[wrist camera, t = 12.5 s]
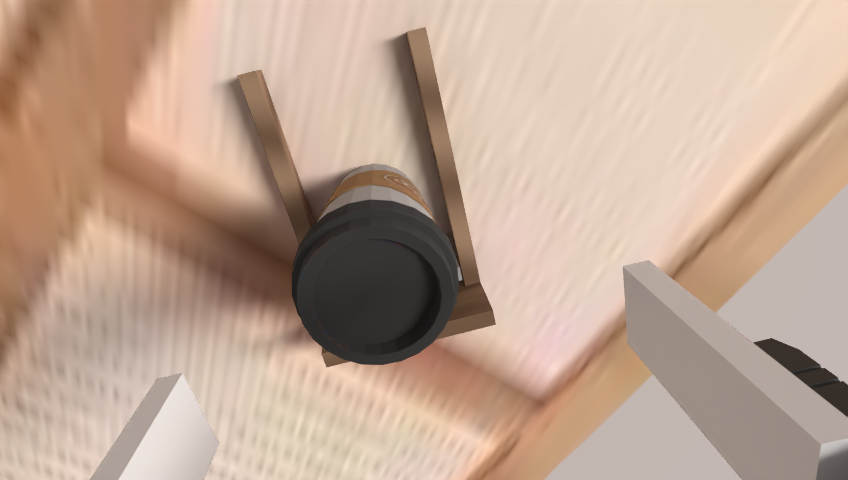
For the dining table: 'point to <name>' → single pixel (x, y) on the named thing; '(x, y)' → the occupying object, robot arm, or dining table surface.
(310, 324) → the coffee cup
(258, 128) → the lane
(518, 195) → the dining table surface
